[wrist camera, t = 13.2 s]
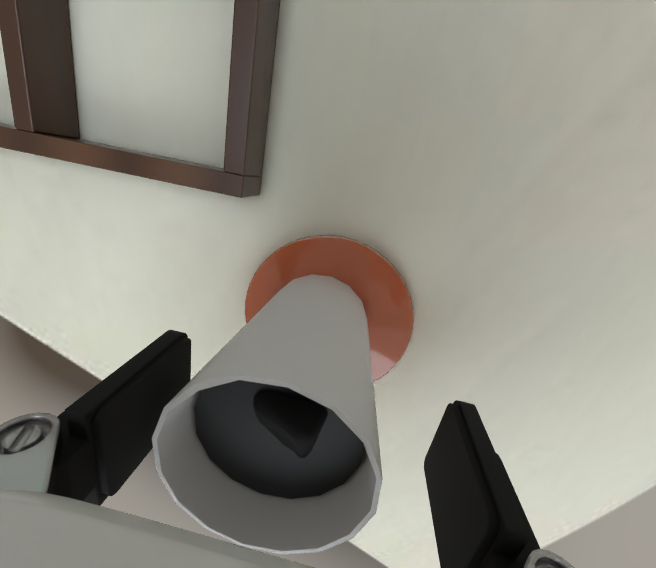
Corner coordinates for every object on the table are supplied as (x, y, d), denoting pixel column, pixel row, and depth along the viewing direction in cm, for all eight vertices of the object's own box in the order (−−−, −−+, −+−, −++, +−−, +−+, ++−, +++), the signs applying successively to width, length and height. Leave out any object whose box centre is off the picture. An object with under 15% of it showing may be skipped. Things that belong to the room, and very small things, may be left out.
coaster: (434, 255, 16) (436, 258, 16) (387, 401, 20) (388, 407, 19) (257, 218, 17) (253, 219, 16) (241, 365, 20) (238, 370, 20)
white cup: (276, 251, 17) (161, 341, 7) (391, 287, 17) (420, 425, 7) (254, 349, 19) (144, 513, 10) (354, 382, 19) (341, 580, 10)
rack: (289, -85, 13) (271, -146, 10) (259, 195, 17) (241, 198, 14) (-174, -156, 14) (-285, -225, 12) (-100, 120, 18) (-171, 111, 15)
